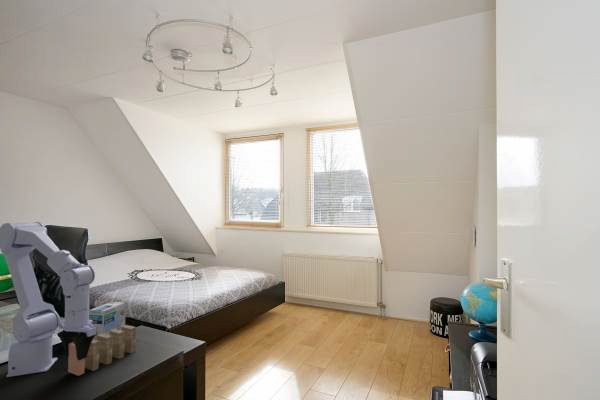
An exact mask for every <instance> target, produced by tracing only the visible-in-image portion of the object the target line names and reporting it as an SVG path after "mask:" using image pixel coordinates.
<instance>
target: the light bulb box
mask: <svg viewBox="0 0 600 400" xmlns="http://www.w3.org/2000/svg"><path fill="white" fill-rule="evenodd" d="M89 320H93V323H91V324H92V325H93V326H94V327H96V335H95V337H94V338H93V340H97V335H99V334H106V335H110V330H113V329H117V330H121V326H124V325H126V302H122V301H121V302H119V301H109V302H108V303H104V304H102V305H99V306H96V307H93V308H92V309H91V308H90V309H89Z"/></svg>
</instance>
